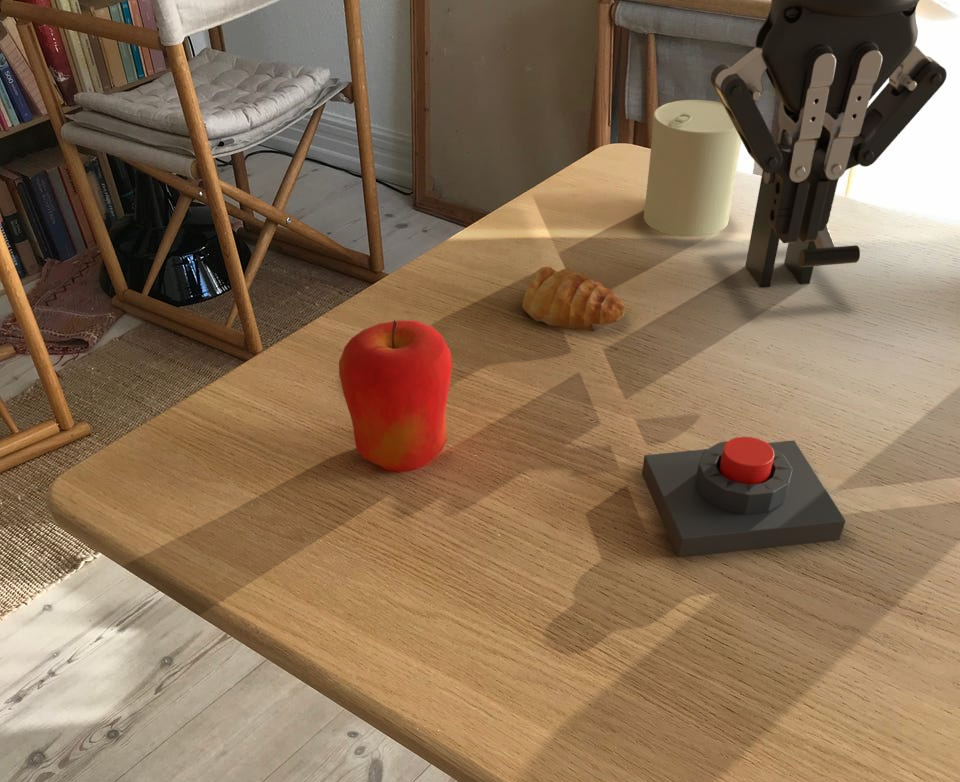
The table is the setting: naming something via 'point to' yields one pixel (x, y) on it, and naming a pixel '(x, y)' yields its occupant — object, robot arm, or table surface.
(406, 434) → the apple
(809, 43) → the robot arm
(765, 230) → the bracket
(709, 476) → the button box
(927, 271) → the table surface
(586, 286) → the pastry
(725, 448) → the button
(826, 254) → the lever
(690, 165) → the can
